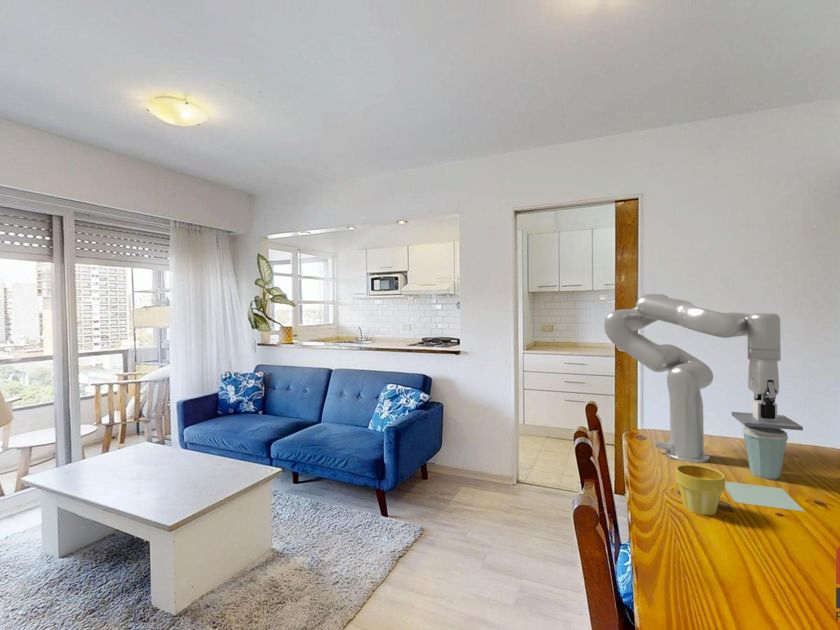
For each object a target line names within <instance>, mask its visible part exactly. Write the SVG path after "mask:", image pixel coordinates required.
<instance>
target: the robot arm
mask: <svg viewBox="0 0 840 630" xmlns="http://www.w3.org/2000/svg"><path fill="white" fill-rule="evenodd" d="M657 321H660V322H664V323H669V324H672V325H677V326H679V327H682V328H685V329H688V330H691V331H694V332H698V333H701V334H706V335H710V336H712V337H718V338H721V339H722V338H723V339H728V338H736V337H744V336H746V338H747V360H749V362H748V372H747V373H748V374H747V377H748V378H747V388H748V389H749V390H750V391H752V392H753V393H754V394H753V400H762V404H761V418H765V419H775V403H776V398H777V395H779V390H780V376H779V375H780V374H779V365H778V362H781V359H782V358H781V357H782V355H781V354H782V353H781V352H782V351H781V317H780V315H778V313H773V312H771V313H770V312H768V313H767V312H763V313H762V312H761V313H759V312H758V313H756V312H755V313H745V312H720V311H715V310H710V309H706V308H702V307H699V306H696V305H694V304H693V303H692V302H690V301H687V300H682V299H678V298H672V297H669V296H668V295H666V294H663V293H662V294H661V293H647V294H643V295H642V296H640V297H639V298H637V300H636V303H635V307H634V308H631V309H628V308H627V309H626V308H625V309H616V310H613V311H611V312H609V313H608V314H607V316H606V317H605V319H604V323H603V324H604V325H603V326H604V331H605V334H606V335H607V338H608V339H609V340H610V342H612V344H614V345H615V346H616V347H618V349H620V350H621V351H623V352H624V353H626V354H628V355H629V356H630V357H631V358H633V359H635V360H636V361H637V362H638V363H640V364H642V365H643V366H645V367H646V368H647V369H648V370H650V371H652V372H655V373H662V372H668V373H667V377H666V385H667V391H668V396H669V424H670V425H669V426H670V427H669V428H670V430H669V431H670V432H669V433H670V435H669V437H670V439H668V441H665V442H661V441H654V447H655V448H659V449H660V450H665V451H664V453H665V455H666V456H667V457H668V458H670V459H672V460H675V461H680V462H684V463H685V462H686V463H690V464H691V463H692V464H704V463H705V464H706V463H708V462H709V461H710V455H709V454H707V453H706V452H704V451H705V447H704V446H705V445H704V440H705V439H704V436H705V435H704V428H705V427H704V403H703V401H704V400H703V398H702V393H701V390H702V389H705V388H707V387H709V386H710V385H711V384H712V382H713V380H714V374H713V371H712V368H711V367H709V366H708V365H707V364H706V363H705V362H703V361H702V360H700V359H698V358H697V357H695V356H693V355H692V354H690V353H688V351H685V350H684V349H682V348H680V347H679V346H676V345H674V344H658V343H656V342H653V341H652V340H650V339H648V337H646V336H644V335H642V334H640V333H638V332H636V331H638V330H641V329H643V328H645V327H647V326H649V325H651V324H652V323H653V324H654V323H655V322H657Z"/></svg>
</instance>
